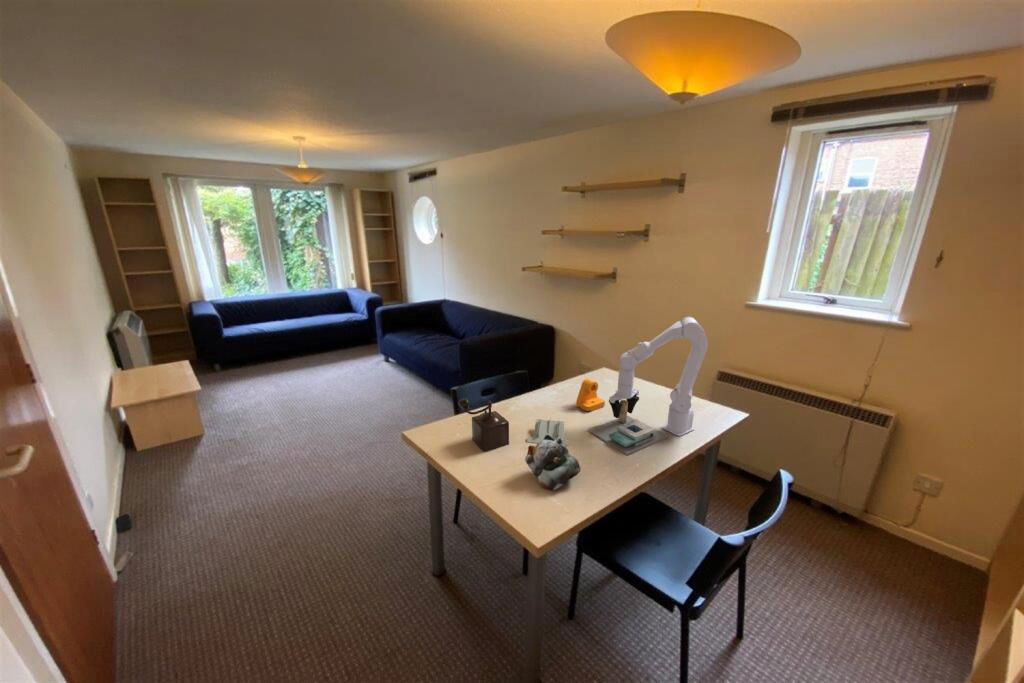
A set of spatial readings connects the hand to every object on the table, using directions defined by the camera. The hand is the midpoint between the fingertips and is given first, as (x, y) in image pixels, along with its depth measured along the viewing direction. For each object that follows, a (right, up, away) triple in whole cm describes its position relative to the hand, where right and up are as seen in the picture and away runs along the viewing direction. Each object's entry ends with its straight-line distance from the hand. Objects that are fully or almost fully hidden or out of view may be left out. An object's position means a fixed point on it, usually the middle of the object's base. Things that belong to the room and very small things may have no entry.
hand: (622, 414), depth 159 cm
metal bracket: (-30, -7, -8) cm, 32 cm away
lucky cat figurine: (-31, -14, -33) cm, 48 cm away
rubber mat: (0, -6, -7) cm, 9 cm away
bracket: (-10, 0, +16) cm, 18 cm away
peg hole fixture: (0, -7, -12) cm, 14 cm away
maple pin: (0, -3, +1) cm, 3 cm away
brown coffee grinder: (-54, -8, -13) cm, 57 cm away
